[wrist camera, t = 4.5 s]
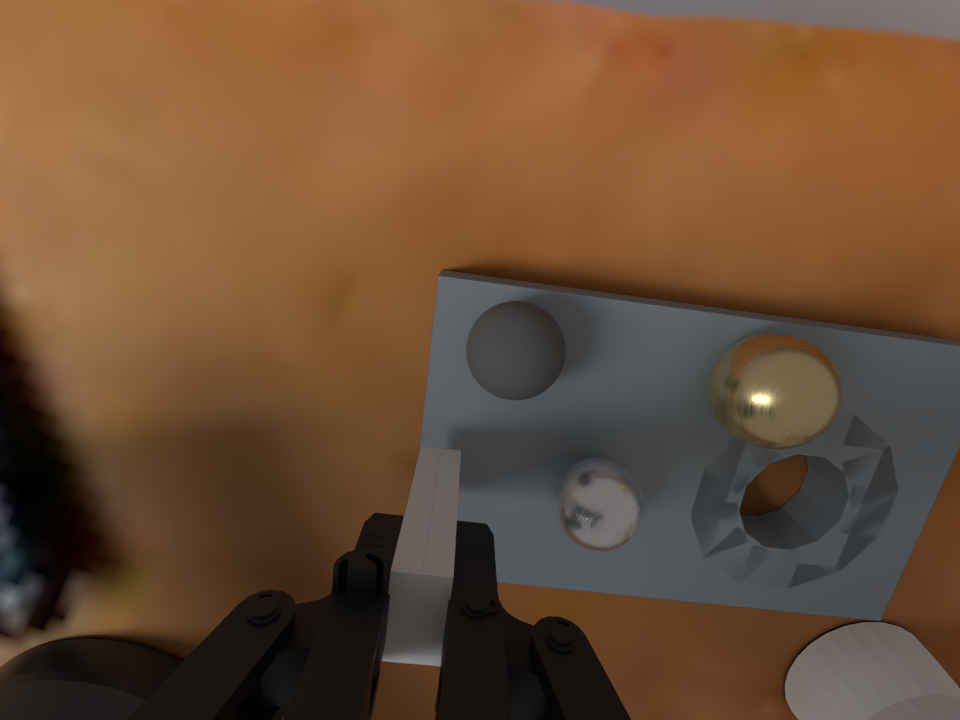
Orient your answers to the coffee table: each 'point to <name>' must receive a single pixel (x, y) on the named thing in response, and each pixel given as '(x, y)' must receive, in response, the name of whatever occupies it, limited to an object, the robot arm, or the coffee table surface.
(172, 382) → the coffee table surface
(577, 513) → the steel ball
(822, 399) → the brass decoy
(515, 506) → the plate
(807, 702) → the cup
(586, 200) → the coffee table surface
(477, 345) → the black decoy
